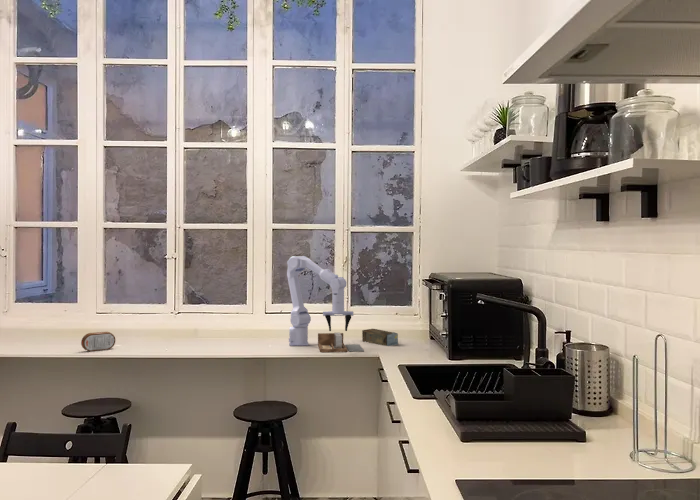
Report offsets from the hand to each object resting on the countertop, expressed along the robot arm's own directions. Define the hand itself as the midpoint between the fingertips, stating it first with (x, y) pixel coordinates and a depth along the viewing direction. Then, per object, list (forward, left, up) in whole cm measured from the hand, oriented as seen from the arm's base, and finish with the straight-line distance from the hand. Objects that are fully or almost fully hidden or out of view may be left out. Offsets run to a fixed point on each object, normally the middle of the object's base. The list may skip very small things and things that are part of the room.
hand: (338, 330), depth 286 cm
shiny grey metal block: (0, 0, -9) cm, 9 cm away
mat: (+8, 0, -9) cm, 12 cm away
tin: (-112, +4, -9) cm, 112 cm away
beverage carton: (+23, +15, -9) cm, 29 cm away
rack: (-3, 0, -9) cm, 9 cm away
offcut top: (-6, 0, -9) cm, 10 cm away
